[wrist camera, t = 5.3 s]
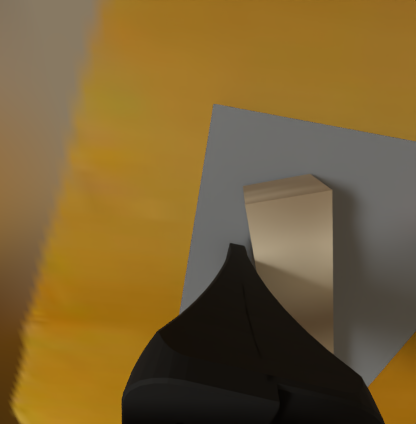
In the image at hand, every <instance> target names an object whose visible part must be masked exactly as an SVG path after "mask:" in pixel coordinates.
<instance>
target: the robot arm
mask: <svg viewBox="0 0 416 424" xmlns="http://www.w3.org/2000/svg"><path fill="white" fill-rule="evenodd" d="M122 424H385V423H384V421H383V418H382V416H381V414H380V412H379V410H378V408H377V406H376V404H375V401H374V399H373V397H372V395H371V393H370V391H369V389H368V388H367V386H366V384H365V382H364V380H363V378H362V377H361V376H360V375H359V374H358V373H356V372H355V371H354V370H353V369H351V368H350V367H349V366H348V365H346V364H345V363H344V362H342V361H341V360H340V359H339V358H337V357H336V356H335V355H334V354H332V353H331V352H330V351H329V350H327V349H326V348H325V347H324V346H323V345H322V344H321V343H319V342H318V341H317V340H316V339H315V338H314V337H313V336H311V335H310V334H309V333H308V332H307V331H306V330H305V329H304V328H303V327H302V326H301V325H300V324H299V323H298V322H297V321H296V320H295V319H294V318H293V317H292V316H291V315H290V314H289V313H288V312H287V311H286V310H285V309H284V307H283V306H282V305H281V304H280V303H279V302H278V300H277V299H276V298H275V297H274V296H273V294H272V293H271V292H270V291H269V289H268V288H267V287H266V285H265V284H264V282H263V281H262V279H261V278H260V276H259V275H258V273H257V271H256V270H255V268H254V266H253V265H252V263H251V261H250V259H249V257H248V256H247V251H246V248H245V246H243V245H238V244H233V243H230V244H229V248H228V252H227V256H226V260H225V262H224V264H223V266H222V268H221V269H220V271H219V272H218V274H217V275H216V277H215V278H214V280H213V281H212V282H211V284H210V285H209V286H208V287H207V288H206V290H205V291H204V292H203V293H202V294H201V295H200V296H199V297H198V298H197V299H196V300H195V301H194V302H193V303H192V304H191V305H190V306H189V307H188V308H187V309H185V310H184V311H183V312H182V313H181V314H180V315H179V316H177V317H176V318H175V319H173V320H172V321H171V322H169V323H168V324H167V325H165V326H164V327H162V328H161V329H160V330H158V331H157V332H156V334H155V335H154V336H153V338H152V339H151V340H150V342H149V343H148V345H147V346H146V348H145V349H144V351H143V352H142V354H141V356H140V357H139V359H138V361H137V363H136V364H135V366H134V368H133V370H132V372H131V375H130V377H129V380H128V382H127V385H126V387H125V390H124V392H123V396H122Z"/></svg>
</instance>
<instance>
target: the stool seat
mask: <svg viewBox="0 0 416 424" xmlns="http://www.w3.org/2000/svg"><path fill="white" fill-rule="evenodd" d="M306 174H311V175H312V176H314V177H315V178H316V179H318V180H319V181H321V182H322V183H323V184H325V185H326V186H327V187H329V188H330V189H331V190H332V216H333V339H334V355H335V356H336V357H337V358H339V359H340V360H341V361H342V362H344V363H345V364H346V365H348V366H349V367H350V368H351V369H353V370H354V371H355V372H356V373H358V374H359V375H360V376H361V377H362V378H363V380H364V382H365V384H366V386H367V387H368V386H369V385H370V384H371V382H372V381H373V380H374V379H375V378H376V377H377V376H378V374H379V373H380V372H381V371H382V370H383V369H384V367H385V366H386V365H387V364H388V363H389V362H390V360H391V359H392V358H393V357H394V356H395V355H396V353H397V352H398V351H399V350H400V349H401V348H402V347H403V345H404V344H405V343H406V342H407V341H408V340H409V338H410V337H411V336H412V335H413V334H414V333H415V331H416V142H415V141H410V140H404V139H399V138H394V137H388V136H383V135H378V134H372V133H367V132H362V131H356V130H351V129H346V128H340V127H335V126H330V125H324V124H319V123H313V122H308V121H303V120H297V119H292V118H287V117H281V116H276V115H271V114H265V113H260V112H255V111H249V110H244V109H239V108H233V107H228V106H223V105H217V104H214V105H213V111H212V117H211V123H210V129H209V136H208V142H207V148H206V154H205V160H204V166H203V172H202V179H201V185H200V191H199V197H198V203H197V209H196V215H195V222H194V228H193V234H192V240H191V246H190V252H189V258H188V264H187V271H186V277H185V283H184V289H183V295H182V301H181V307H180V314H181V313H182V312H183V311H184V310H185V309H187V308H188V307H189V306H190V305H191V304H192V303H193V302H194V301H195V300H196V299H197V298H198V297H199V296H200V295H201V294H202V293H203V292H204V291H205V290H206V288H207V287H208V286H209V285H210V284H211V282H212V281H213V280H214V278H215V277H216V275H217V274H218V272H219V271H220V269H221V268H222V266H223V264H224V262H225V260H226V256H227V252H228V248H229V244H230V243H233V244H238V245H243V246H245V248H246V251H247V256H248V257H249V259H250V261H251V263H252V265H253V266H254V268H255V270H256V265H255V260H254V254H253V248H252V242H251V236H250V231H249V225H248V219H247V213H246V208H245V200H244V192H243V186H246V185H251V184H257V183H262V182H268V181H273V180H278V179H284V178H289V177H295V176H300V175H306ZM180 314H179V315H180Z"/></svg>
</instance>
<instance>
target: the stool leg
mask: <svg viewBox="0 0 416 424" xmlns="http://www.w3.org/2000/svg"><path fill="white" fill-rule="evenodd" d="M243 192H244V200H245V208H246V213H247V219H248V225H249V231H250V236H251V242H252V248H253V254H254V260H255V265H256V271H257V273H258V275H259V276H260V278H261V279H262V281H263V282H264V284H265V285H266V287H267V288H268V289H269V291H270V292H271V293H272V294H273V296H274V297H275V298H276V299H277V300H278V302H279V303H280V304H281V305H282V306H283V307H284V309H285V310H286V311H287V312H288V313H289V314H290V315H291V316H292V317H293V318H294V319H295V320H296V321H297V322H298V323H299V324H300V325H301V326H302V327H303V328H304V329H305V330H306V331H307V332H308V333H309V334H310V335H311V336H313V337H314V338H315V339H316V340H317V341H318V342H319V343H321V344H322V345H323V346H324V347H325V348H326V349H327V350H329V351H330V352H331V353H332V354H334V339H333V216H332V190H331V189H330V188H329V187H327V186H326V185H325V184H323V183H322V182H321V181H319V180H318V179H316V178H315V177H314V176H312V175H311V174H306V175H300V176H295V177H289V178H284V179H278V180H273V181H268V182H262V183H257V184H251V185H246V186H243Z"/></svg>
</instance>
